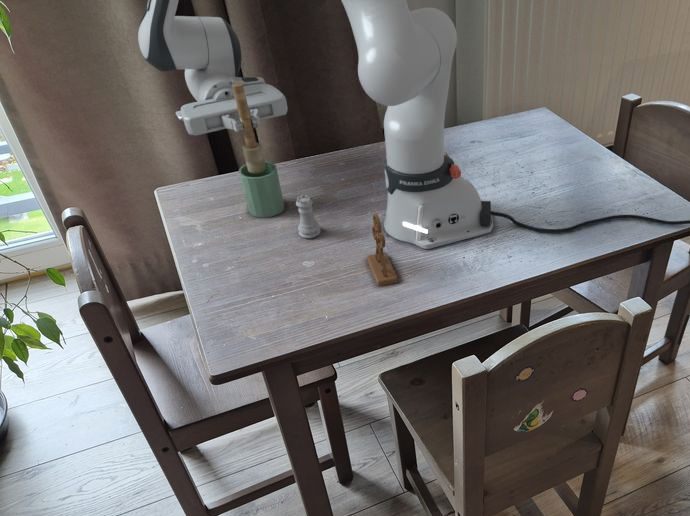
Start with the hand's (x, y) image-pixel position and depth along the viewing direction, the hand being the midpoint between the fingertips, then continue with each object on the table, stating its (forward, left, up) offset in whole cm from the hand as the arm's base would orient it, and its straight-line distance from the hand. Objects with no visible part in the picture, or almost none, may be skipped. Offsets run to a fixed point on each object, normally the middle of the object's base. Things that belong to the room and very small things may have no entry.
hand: (248, 125), depth 121 cm
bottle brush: (0, -1, -9) cm, 10 cm away
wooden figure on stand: (-20, +27, -19) cm, 39 cm away
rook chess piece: (-8, +11, -19) cm, 23 cm away
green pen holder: (0, -1, -18) cm, 19 cm away
